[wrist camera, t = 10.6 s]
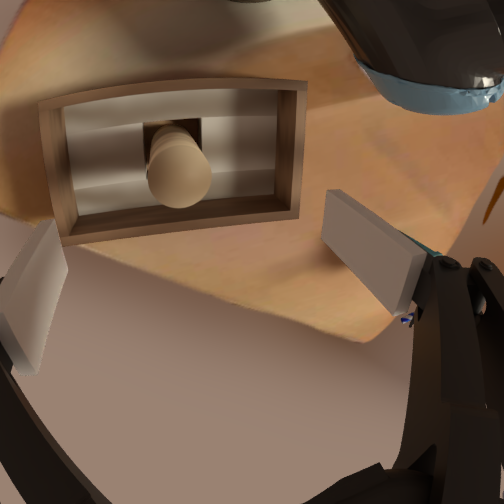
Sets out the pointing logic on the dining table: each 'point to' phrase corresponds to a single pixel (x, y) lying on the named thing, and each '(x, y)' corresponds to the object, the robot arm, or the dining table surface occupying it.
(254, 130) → the crate
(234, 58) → the dining table surface
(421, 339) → the robot arm
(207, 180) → the peg
